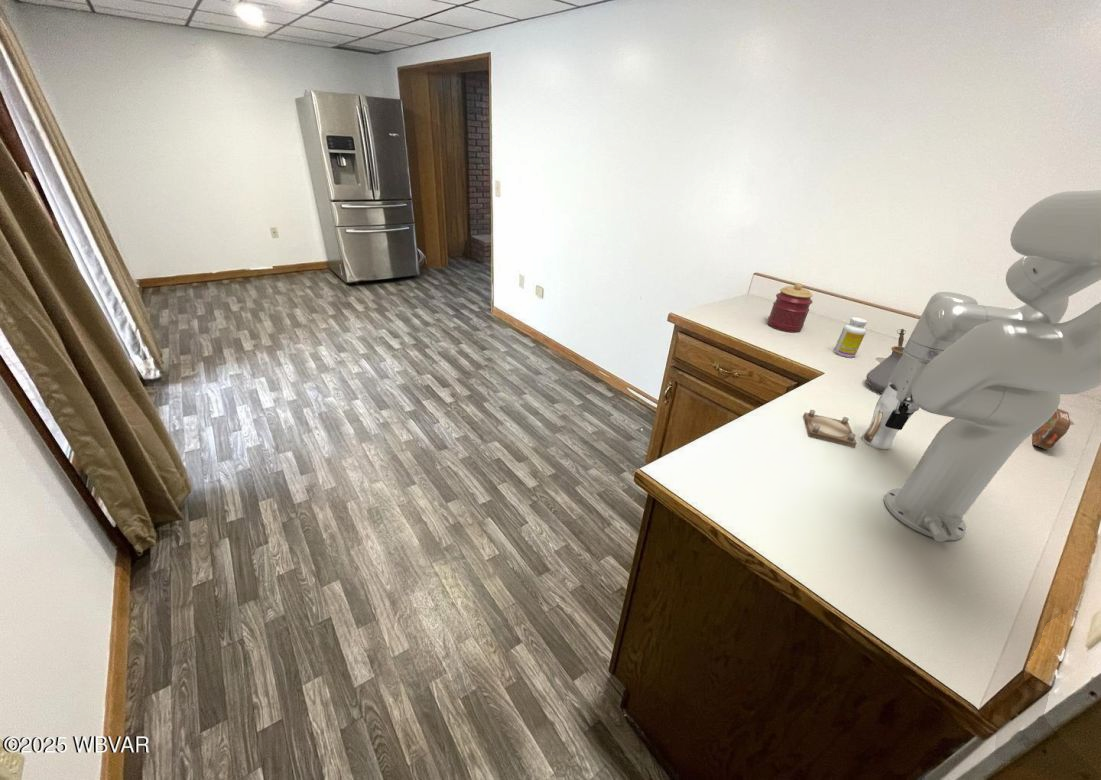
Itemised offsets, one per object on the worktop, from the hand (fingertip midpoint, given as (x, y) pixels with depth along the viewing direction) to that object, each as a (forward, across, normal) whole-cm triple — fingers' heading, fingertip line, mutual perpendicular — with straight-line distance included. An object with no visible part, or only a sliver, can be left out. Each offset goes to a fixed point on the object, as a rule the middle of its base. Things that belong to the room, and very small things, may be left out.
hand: (888, 419), depth 101 cm
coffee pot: (+7, +39, -11) cm, 41 cm away
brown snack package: (+7, +21, -42) cm, 47 cm away
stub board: (+7, 0, +10) cm, 12 cm away
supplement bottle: (+7, +59, -4) cm, 60 cm away
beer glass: (+7, 0, 0) cm, 7 cm away
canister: (+7, +78, +14) cm, 80 cm away
